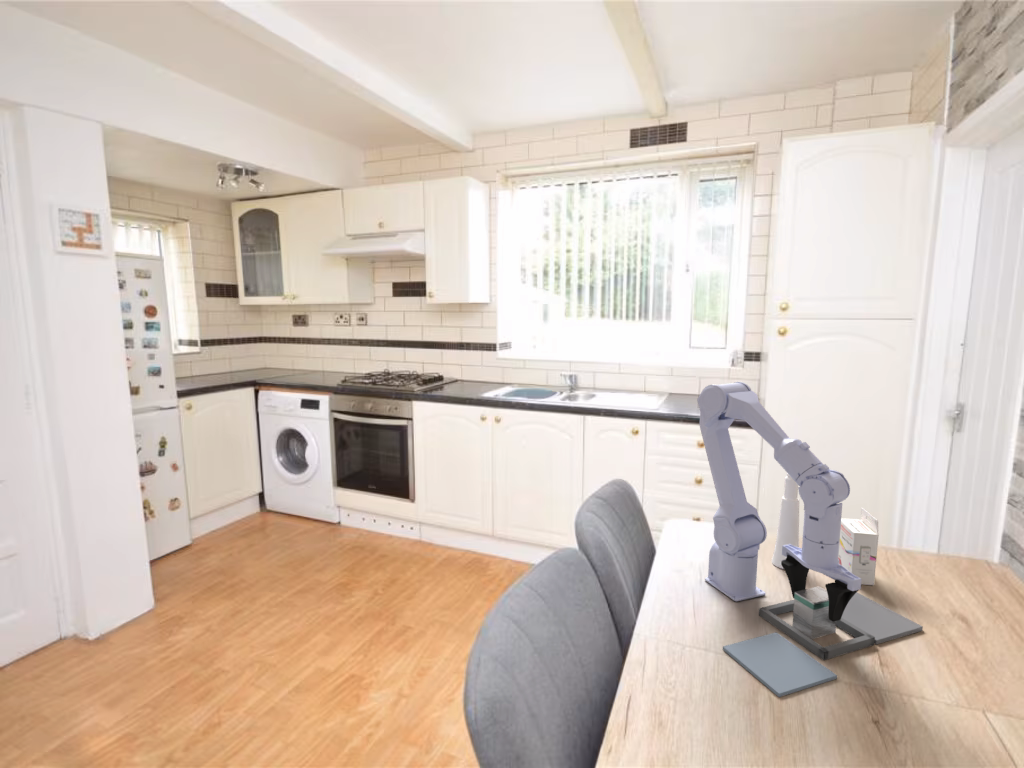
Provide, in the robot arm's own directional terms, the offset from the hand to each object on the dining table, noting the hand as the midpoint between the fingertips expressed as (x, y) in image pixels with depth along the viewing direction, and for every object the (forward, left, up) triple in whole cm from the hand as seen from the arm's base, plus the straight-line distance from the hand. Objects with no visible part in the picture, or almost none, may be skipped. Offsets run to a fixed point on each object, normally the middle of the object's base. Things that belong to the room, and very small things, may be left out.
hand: (815, 608), depth 95 cm
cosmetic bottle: (-21, +16, -5) cm, 27 cm away
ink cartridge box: (-12, +26, -5) cm, 29 cm away
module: (0, 0, -4) cm, 4 cm away
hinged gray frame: (0, +6, -4) cm, 8 cm away
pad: (+5, -14, -4) cm, 15 cm away
